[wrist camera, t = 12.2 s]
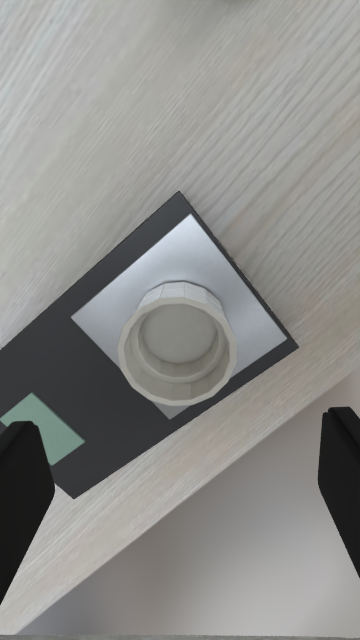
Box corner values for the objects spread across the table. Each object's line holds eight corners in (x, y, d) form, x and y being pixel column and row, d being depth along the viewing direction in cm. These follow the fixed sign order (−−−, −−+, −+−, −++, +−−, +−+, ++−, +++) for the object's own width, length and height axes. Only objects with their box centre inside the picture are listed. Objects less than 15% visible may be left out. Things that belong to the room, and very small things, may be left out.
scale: (180, 192, 22) (179, 189, 20) (289, 335, 25) (300, 348, 23) (-30, 379, 28) (-52, 396, 25) (82, 478, 31) (73, 501, 28)
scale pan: (190, 213, 20) (190, 213, 20) (285, 336, 23) (287, 339, 22) (72, 314, 23) (69, 317, 22) (170, 415, 25) (169, 420, 25)
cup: (225, 277, 21) (234, 292, 17) (228, 368, 23) (238, 402, 19) (125, 284, 21) (109, 302, 17) (137, 373, 23) (126, 409, 19)
